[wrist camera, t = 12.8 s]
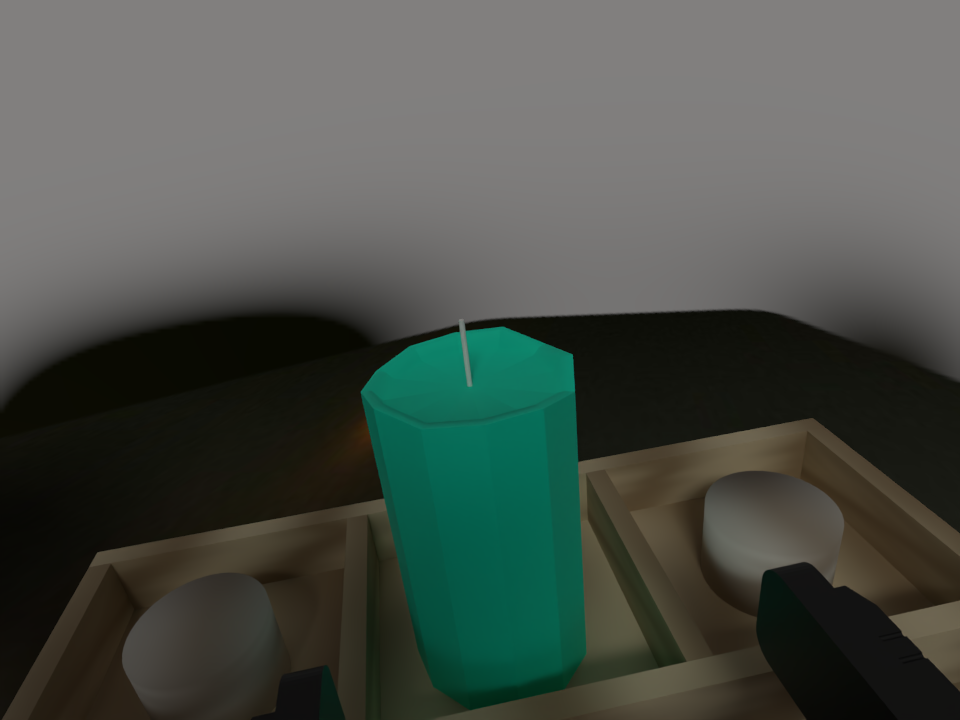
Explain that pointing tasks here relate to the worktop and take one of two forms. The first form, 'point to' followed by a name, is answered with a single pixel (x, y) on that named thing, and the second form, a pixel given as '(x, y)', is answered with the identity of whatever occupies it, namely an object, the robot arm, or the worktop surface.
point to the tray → (607, 596)
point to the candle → (484, 509)
